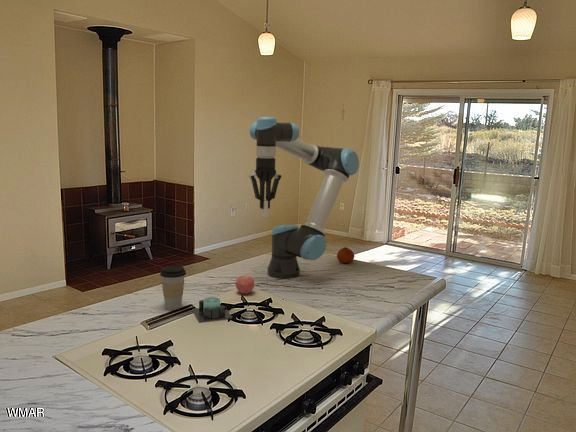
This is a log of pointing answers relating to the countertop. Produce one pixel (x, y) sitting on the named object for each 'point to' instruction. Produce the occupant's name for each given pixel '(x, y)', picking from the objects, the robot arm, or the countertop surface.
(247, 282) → the apple
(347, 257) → the fruit
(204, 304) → the cap
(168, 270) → the coffee cup
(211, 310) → the dark grey raised block
